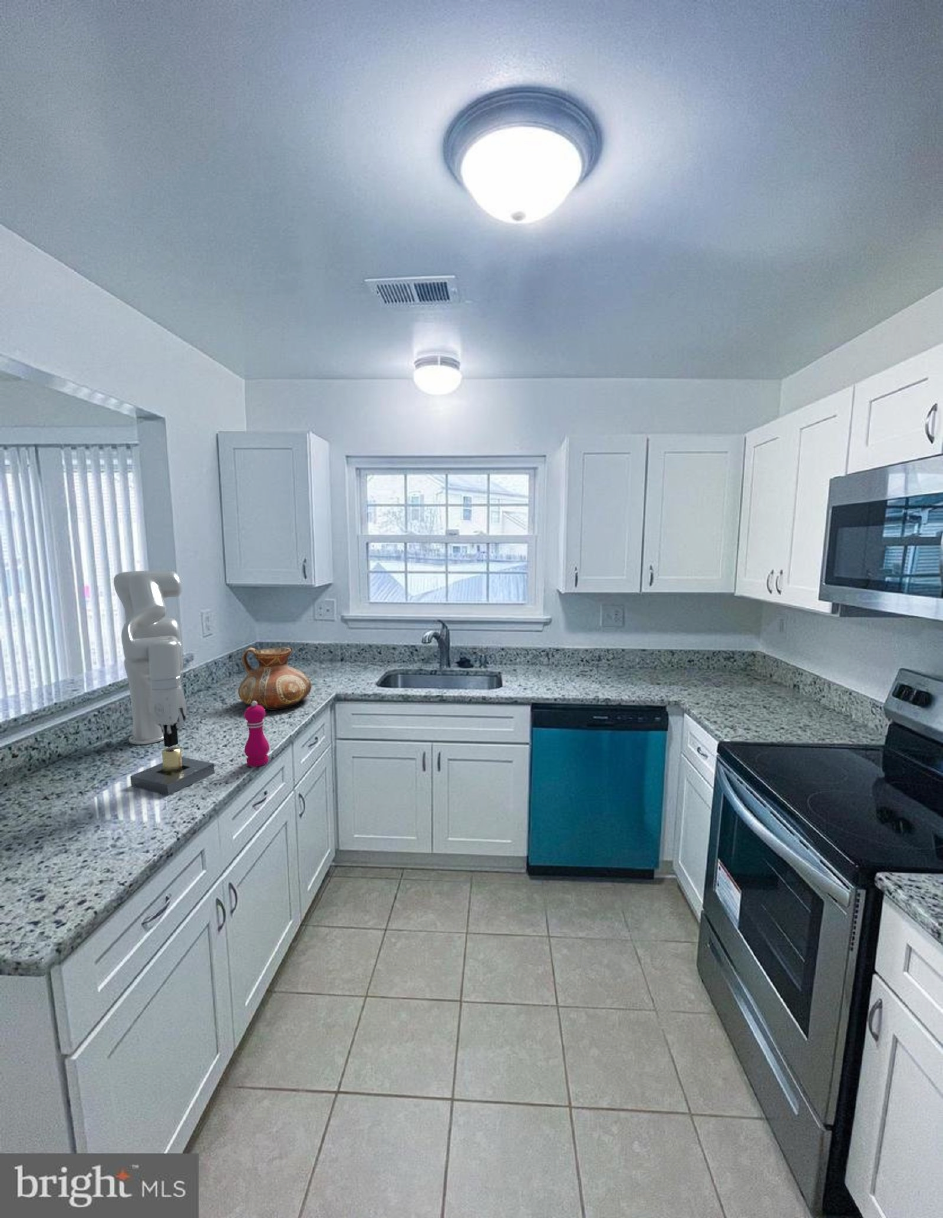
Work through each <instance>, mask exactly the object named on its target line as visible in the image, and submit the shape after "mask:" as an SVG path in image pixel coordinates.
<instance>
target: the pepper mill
mask: <svg viewBox="0 0 943 1218" xmlns="http://www.w3.org/2000/svg"><path fill="white" fill-rule="evenodd" d="M251 705H252V706H250V705H249V707H247V708H246V709H245V710H244V715H243V716H244V719H245V720H246V727H247V728H248V738H247V741H246V743H245V745H244V755H245V756H246V757H247V758H246V765H247V767H252V768H253V767H254V768H255V767H261V766H263V765H266V764H267V763H268V762H269V755H268V753H269V751H270V744H269V742H268V740H267V738H266V736H265V734H264V728H263V727H264V726H265V720H264V718H265V717H266V710H264V708H263V707H262V706H259V705H257V702H256V701H253V702H252V703H251Z"/></svg>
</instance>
